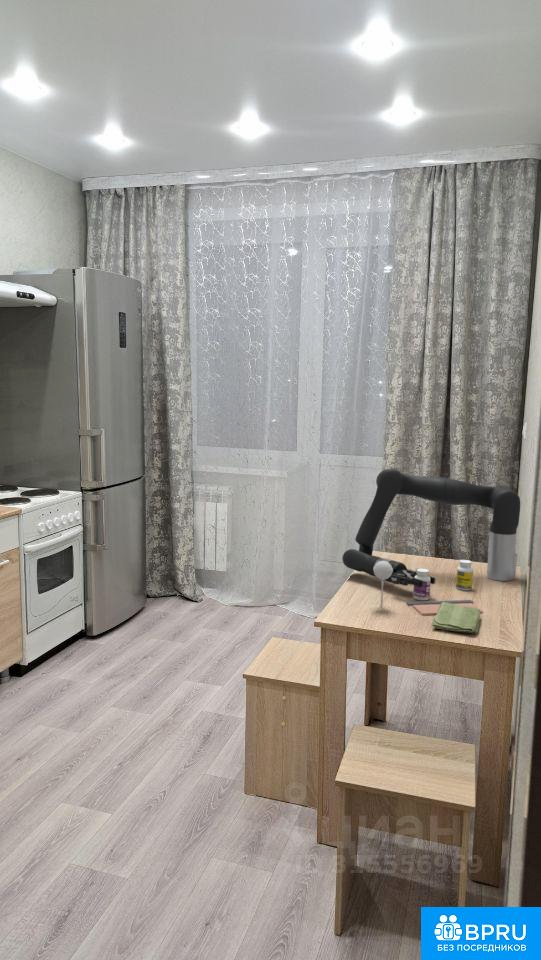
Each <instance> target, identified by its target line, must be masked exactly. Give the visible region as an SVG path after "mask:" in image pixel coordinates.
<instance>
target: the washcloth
mask: <svg viewBox="0 0 541 960" xmlns="http://www.w3.org/2000/svg"><path fill="white" fill-rule="evenodd" d="M478 608H479V607H478ZM478 608H473V607H467V606H459V605H455V604H451V603H446V602H442V603H441V605H440V607H439V610H438V612H437V615H434V618H433V620H432V623H431V626H432V627H434V629H439V630H443V631H451V632H458V633H467V634H468V633H469V634H473V635H477V633H479V627H480V620H481V618H480V617H481V613H480V608H479V609H478Z"/></svg>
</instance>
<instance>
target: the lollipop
mask: <svg viewBox="0 0 541 960" xmlns="http://www.w3.org/2000/svg"><path fill="white" fill-rule="evenodd" d="M373 571H374V574H375V576H376V578H378V579H379V580H381V591H380V592H381V594H380V595H381V596H380V607H381V608H383V600H384V599H383V596H384V595H383V594H384V581H385V579H388V578H389V577H390V576H391V575H392V572H393V568H392V566H391V565H390V564H389V563H388V562H386V561H380V562H378V563H376V565H375V566H374V568H373ZM375 576H374V577H375Z"/></svg>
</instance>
